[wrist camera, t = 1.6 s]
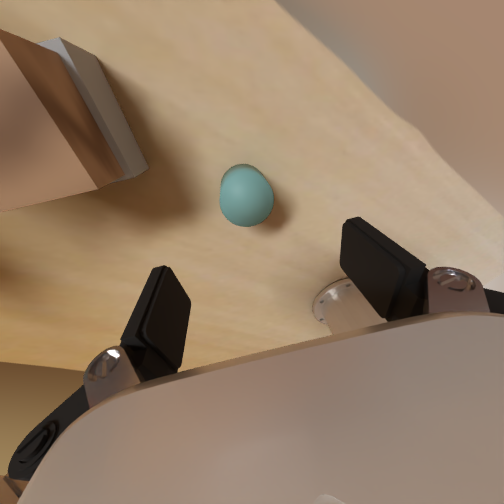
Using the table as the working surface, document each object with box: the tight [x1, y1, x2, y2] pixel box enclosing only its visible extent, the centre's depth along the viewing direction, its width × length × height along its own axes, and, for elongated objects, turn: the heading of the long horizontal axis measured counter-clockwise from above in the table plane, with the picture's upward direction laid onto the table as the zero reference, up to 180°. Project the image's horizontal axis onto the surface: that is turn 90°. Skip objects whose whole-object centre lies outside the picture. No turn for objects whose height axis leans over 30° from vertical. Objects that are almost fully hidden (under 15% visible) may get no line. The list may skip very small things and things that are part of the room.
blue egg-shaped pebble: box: [220, 164, 274, 227], centre depth 21 cm, size 6×6×5 cm
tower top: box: [0, 29, 125, 212], centre depth 13 cm, size 8×8×4 cm
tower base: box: [36, 37, 149, 184], centre depth 17 cm, size 9×9×4 cm
